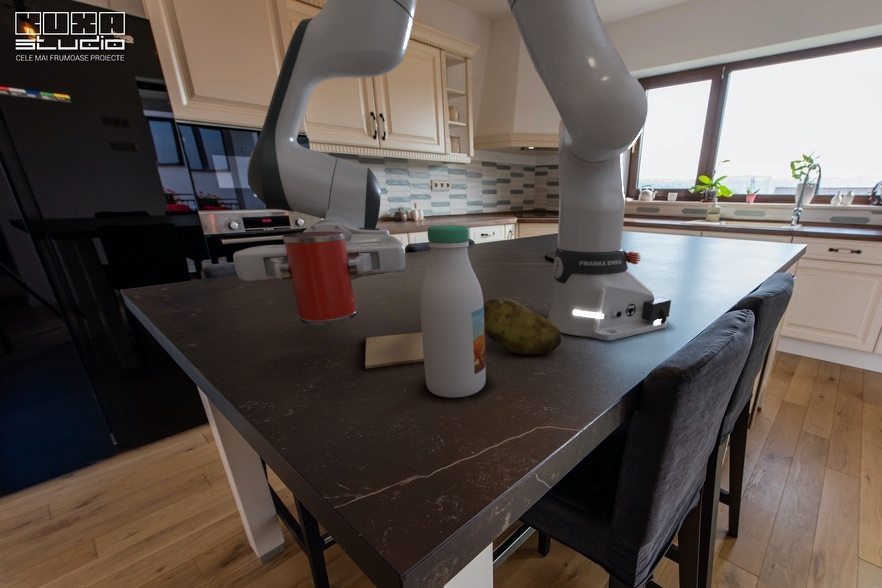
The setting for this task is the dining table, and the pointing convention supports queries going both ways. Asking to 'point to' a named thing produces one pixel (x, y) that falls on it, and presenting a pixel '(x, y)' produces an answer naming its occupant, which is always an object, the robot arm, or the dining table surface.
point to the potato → (519, 328)
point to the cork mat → (394, 350)
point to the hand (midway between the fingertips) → (320, 270)
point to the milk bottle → (452, 316)
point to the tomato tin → (320, 277)
